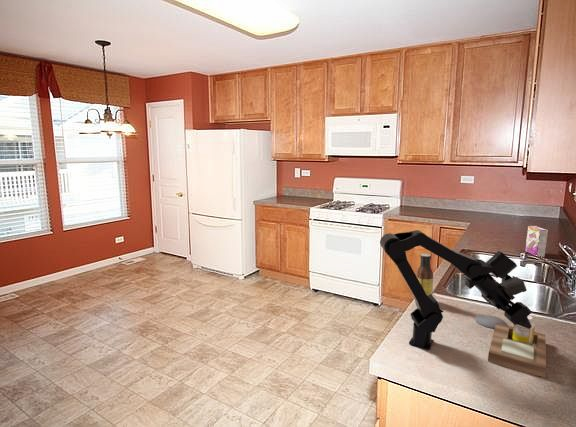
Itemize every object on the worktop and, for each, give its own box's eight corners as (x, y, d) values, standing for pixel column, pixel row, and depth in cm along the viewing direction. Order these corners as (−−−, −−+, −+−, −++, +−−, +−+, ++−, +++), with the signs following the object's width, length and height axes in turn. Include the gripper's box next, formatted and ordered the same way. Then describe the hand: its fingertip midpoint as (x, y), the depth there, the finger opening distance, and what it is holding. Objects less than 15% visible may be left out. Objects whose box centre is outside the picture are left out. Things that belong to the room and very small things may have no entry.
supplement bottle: (523, 340, 119) (527, 311, 117) (536, 349, 114) (540, 319, 112) (507, 341, 119) (511, 312, 117) (519, 350, 113) (523, 320, 111)
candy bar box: (524, 252, 219) (527, 225, 216) (532, 252, 219) (535, 225, 215) (536, 257, 208) (540, 230, 205) (545, 257, 208) (549, 230, 204)
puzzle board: (544, 378, 100) (546, 366, 99) (487, 361, 108) (488, 350, 107) (544, 343, 118) (545, 332, 117) (495, 330, 126) (496, 321, 125)
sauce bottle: (434, 300, 150) (438, 254, 146) (428, 305, 145) (432, 258, 141) (419, 296, 154) (422, 251, 150) (412, 300, 150) (415, 255, 146)
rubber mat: (505, 331, 125) (505, 330, 125) (473, 323, 130) (473, 322, 130) (507, 320, 133) (507, 319, 133) (477, 313, 138) (477, 312, 138)
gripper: (528, 281, 103) (562, 317, 104) (494, 260, 121) (524, 292, 123) (497, 306, 104) (531, 342, 106) (468, 282, 123) (498, 313, 124)
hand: (521, 320), depth 115 cm, fingers open, 9 cm apart
